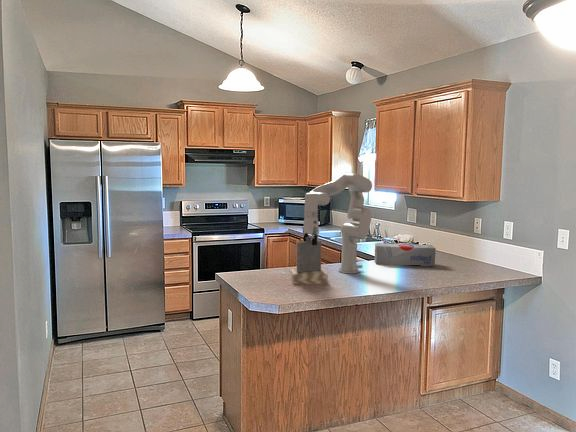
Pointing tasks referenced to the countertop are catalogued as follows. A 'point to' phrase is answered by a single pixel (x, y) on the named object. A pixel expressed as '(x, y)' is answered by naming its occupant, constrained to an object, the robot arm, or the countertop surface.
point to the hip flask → (308, 256)
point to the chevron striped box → (309, 277)
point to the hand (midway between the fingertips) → (310, 243)
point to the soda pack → (404, 254)
